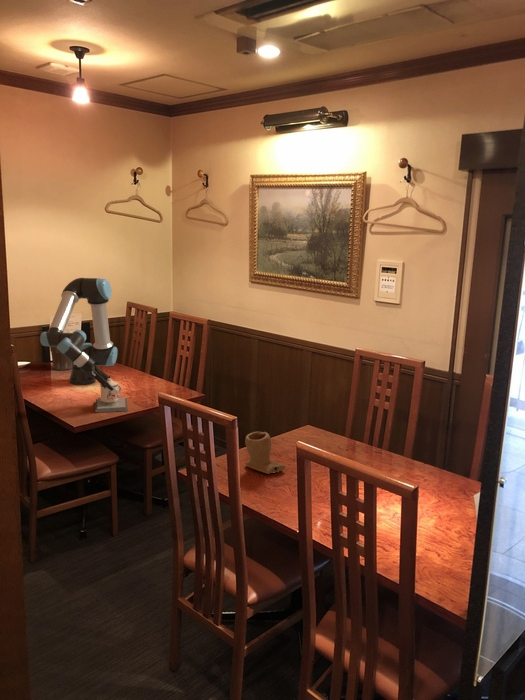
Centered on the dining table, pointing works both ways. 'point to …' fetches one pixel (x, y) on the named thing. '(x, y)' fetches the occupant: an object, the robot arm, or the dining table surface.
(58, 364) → the plant pot
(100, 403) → the press bed
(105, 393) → the teacup with lid
